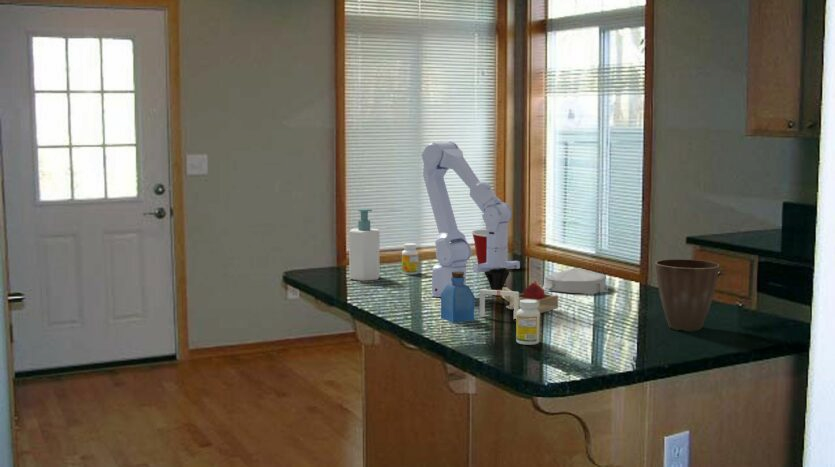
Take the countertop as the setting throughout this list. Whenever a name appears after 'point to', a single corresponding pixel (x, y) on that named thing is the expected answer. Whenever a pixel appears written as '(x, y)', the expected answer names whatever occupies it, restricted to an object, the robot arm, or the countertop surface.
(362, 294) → the countertop surface
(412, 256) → the supplement bottle
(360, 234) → the soap bottle
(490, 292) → the white goalpost frame
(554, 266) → the countertop surface
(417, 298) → the countertop surface
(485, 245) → the plastic cup
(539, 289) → the onion
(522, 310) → the supplement bottle
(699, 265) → the plant pot
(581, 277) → the food container
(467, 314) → the perfume bottle
